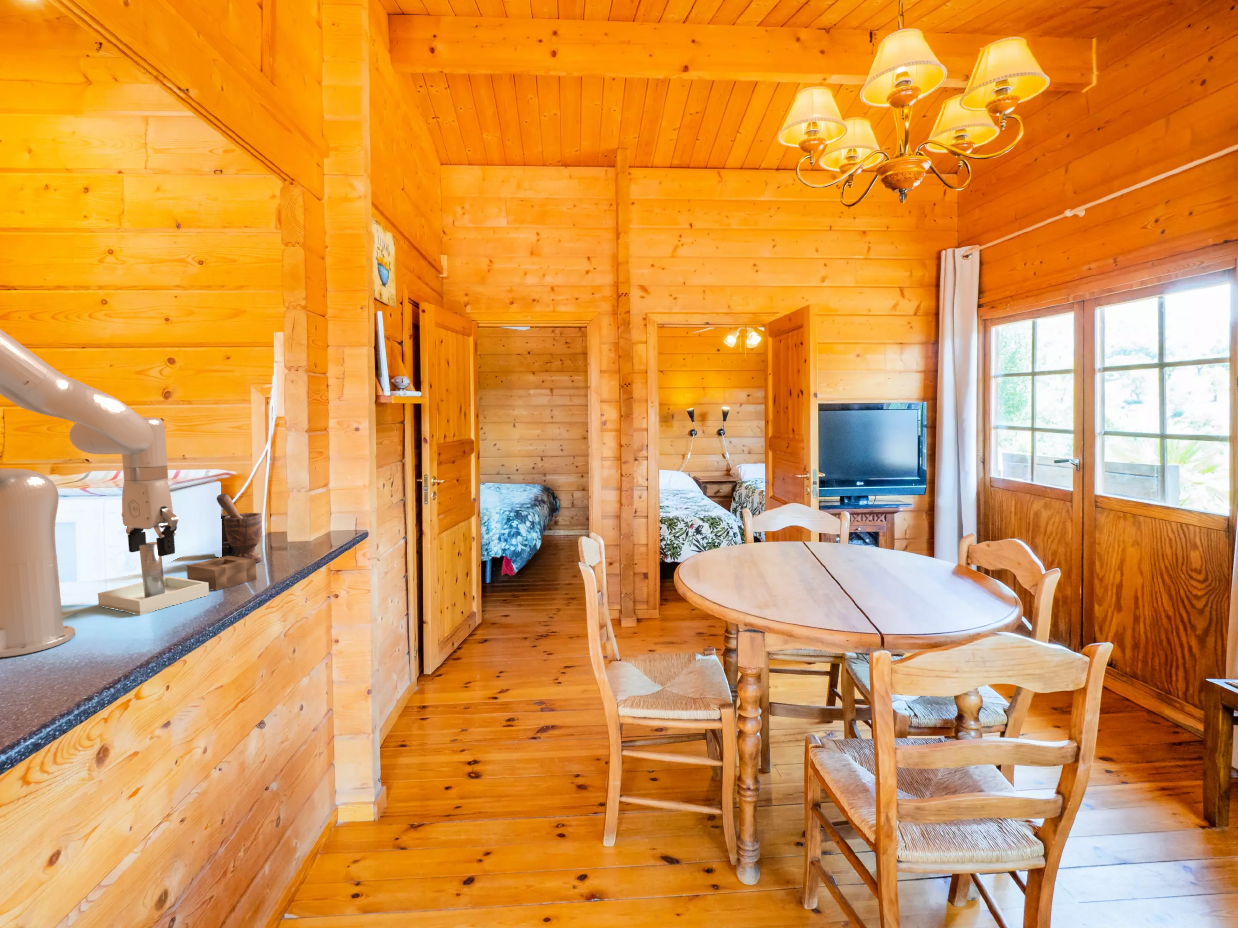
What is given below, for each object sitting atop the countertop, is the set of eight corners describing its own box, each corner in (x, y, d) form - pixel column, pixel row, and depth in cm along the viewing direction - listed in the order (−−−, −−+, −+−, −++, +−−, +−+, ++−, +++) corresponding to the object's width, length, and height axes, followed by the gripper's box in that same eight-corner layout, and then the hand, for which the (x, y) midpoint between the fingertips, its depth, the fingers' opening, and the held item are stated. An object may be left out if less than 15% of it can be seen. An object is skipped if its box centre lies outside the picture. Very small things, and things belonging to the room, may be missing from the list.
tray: (140, 615, 122) (139, 601, 122) (99, 606, 128) (97, 593, 127) (209, 595, 135) (208, 582, 135) (169, 588, 140) (168, 576, 140)
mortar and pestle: (252, 568, 158) (247, 493, 156) (215, 570, 156) (210, 494, 154) (268, 557, 169) (264, 487, 167) (235, 559, 167) (230, 488, 166)
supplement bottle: (228, 558, 168) (226, 516, 167) (208, 557, 169) (205, 515, 168) (248, 553, 175) (245, 512, 174) (228, 551, 176) (225, 511, 175)
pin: (151, 600, 129) (145, 546, 128) (140, 598, 130) (135, 545, 129) (169, 595, 132) (163, 542, 131) (158, 593, 134) (153, 541, 132)
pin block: (216, 590, 139) (215, 569, 138) (187, 585, 142) (186, 565, 142) (256, 579, 148) (255, 559, 148) (228, 575, 152) (227, 555, 151)
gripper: (101, 475, 129) (107, 553, 130) (152, 478, 122) (158, 560, 124) (140, 471, 135) (145, 545, 137) (190, 474, 129) (196, 552, 131)
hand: (152, 552), depth 130 cm, fingers open, 9 cm apart
